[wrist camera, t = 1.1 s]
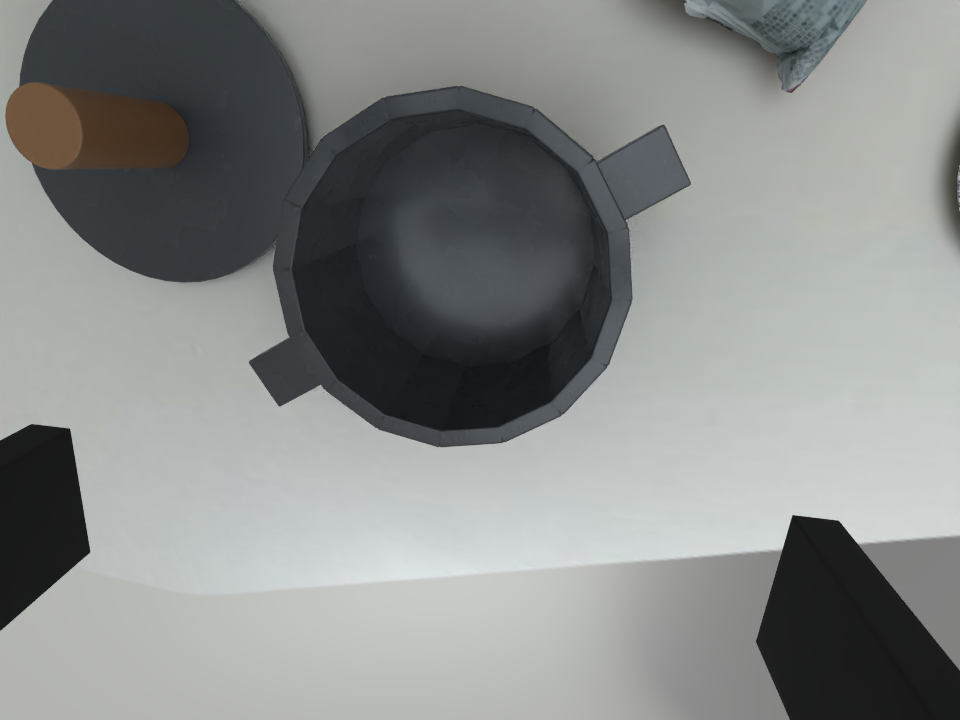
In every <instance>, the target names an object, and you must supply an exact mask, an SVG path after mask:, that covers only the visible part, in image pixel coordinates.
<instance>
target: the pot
mask: <svg viewBox="0 0 960 720" xmlns="http://www.w3.org/2000/svg"><path fill="white" fill-rule="evenodd" d="M690 185H691V182H690V180H689V178H688V175H687V173H686V171H685V169H684V167H683V164H682V162H681V160H680V158H679V156H678V154H677V151H676V149H675V147H674V145H673V143H672V140H671V138H670V136H669V134H668V132H667V129H666V127H665V126H664V125H661V126H658V127H656V128H654V129H653V130H651V131H649V132H647V133H646V134H644V135H642V136H640V137H639V138H637V139H635V140H633V141H632V142H630V143H628V144H626V145H625V146H623V147H621V148H619V149H618V150H616V151H614V152H612V153H611V154H609V155H607V156H605V157H604V158H602V159H600V160H598V161H596V160H595V159H594V158H593V156H592V155H591V154H589V153H588V152H587V151H586V150H585V149H584V148H582V147H581V146H580V145H579V144H578V143H576V142H575V141H574V140H573V139H572V138H571V137H569V136H568V135H567V134H566V133H565V132H563V131H562V130H561V129H560V128H559V127H558V126H556V125H555V124H554V123H553V122H552V121H550V120H549V119H548V118H547V117H546V116H545V115H543V114H542V113H541V112H540V111H539V110H537V109H534V107H532V106H529V105H525V104H522V103H518V102H515V101H511V100H508V99H504V98H501V97H498V96H494V95H491V94H487V93H484V92H480V91H477V90H473V89H470V88H466V87H463V86H460V87H459V86H453V87H447V88H440V89H434V90H427V91H420V92H414V93H407V94H401V95H394V96H387V97H385V98H381V99H380V100H378V101H377V102H375V103H374V104H372V105H371V106H369V107H368V108H366V109H365V110H363V111H362V112H360V113H359V114H357V115H356V116H354V117H353V118H351V119H350V120H348V121H347V122H345V123H344V124H342V125H341V126H339V127H338V128H336V129H335V130H333V131H332V132H330V133H328V134H327V135H325V136H324V137H323V139H321V140H320V142H319V143H318V145H317V147H316V148H315V150H314V151H313V153H312V155H311V156H310V158H309V159H308V161H307V163H306V164H305V166H304V167H303V169H302V171H301V172H300V174H299V175H298V177H297V178H296V180H295V182H294V183H293V185H292V186H291V188H290V190H289V191H288V193H287V194H286V196H285V199H284V200H283V206H282V212H281V219H280V225H279V232H278V238H277V244H276V251H275V257H274V263H273V271H274V275H275V280H276V284H277V289H278V293H279V297H280V302H281V306H282V310H283V315H284V319H285V324H286V328H287V332H288V334H289V338H287V339H286V340H284V341H282V342H280V343H279V344H277V345H275V346H273V347H272V348H270V349H268V350H266V351H265V352H263V353H261V354H259V355H258V356H256V357H255V358H253V359H252V360H250V361H249V364H250V365H251V367H252V368H253V369H254V371H255V372H256V374H257V375H258V377H259V378H260V380H261V381H262V383H263V384H264V385H265V387H266V388H267V390H268V391H269V393H270V394H271V396H272V397H273V399H274V400H275V402H276V403H277V404H278V406H282V405H284V404H286V403H288V402H289V401H291V400H293V399H295V398H297V397H299V396H301V395H302V394H304V393H306V392H308V391H310V390H312V389H313V388H315V387H317V386H319V385H322V387H323V388H324V389H325V390H326V391H327V392H328V393H330V394H331V395H332V396H334V397H335V398H336V399H338V400H339V401H340V402H342V403H343V404H345V405H346V406H347V407H349V408H350V409H351V410H353V411H354V412H355V413H357V414H358V415H359V416H361V417H362V418H363V419H365V420H366V421H367V422H369V423H370V424H372V425H373V426H374V427H376V428H378V429H379V430H382V431H386V432H389V433H393V434H396V435H399V436H403V437H406V438H409V439H413V440H416V441H419V442H423V443H426V444H430V445H433V446H436V447H439V446H440V447H450V446H465V445H480V444H495V443H503V442H506V441H509V440H511V439H513V438H515V437H517V436H519V435H521V434H524V433H526V432H528V431H530V430H532V429H534V428H536V427H539V426H541V425H543V424H545V423H547V422H549V421H551V420H554V419H556V418H558V417H560V416H561V415H562V414H564V413H565V412H566V411H567V410H568V409H569V408H570V407H571V406H572V405H573V404H574V402H575V401H576V400H577V399H578V398H579V397H580V396H581V395H582V394H583V393H584V392H585V391H586V390H587V388H588V387H589V386H590V385H591V384H592V383H593V382H594V381H595V380H596V379H597V378H598V377H599V376H600V375H601V373H602V372H603V371H604V370H605V369H606V368H607V366H608V365H609V363H610V360H611V357H612V355H613V352H614V349H615V347H616V344H617V341H618V338H619V336H620V333H621V330H622V328H623V325H624V322H625V319H626V317H627V314H628V311H629V309H630V306H631V303H632V281H631V261H630V240H629V228H628V225H627V223H626V221H625V220H627V219H628V218H630V217H632V216H634V215H636V214H638V213H640V212H641V211H643V210H645V209H647V208H649V207H651V206H653V205H654V204H656V203H658V202H660V201H662V200H664V199H665V198H667V197H669V196H671V195H673V194H675V193H677V192H678V191H680V190H682V189H684V188H686V187H688V186H690Z"/></svg>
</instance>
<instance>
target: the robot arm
mask: <svg viewBox="0 0 960 720" xmlns="http://www.w3.org/2000/svg"><path fill="white" fill-rule="evenodd" d="M89 553H90V547H89V541H88V535H87V529H86V523H85V517H84V511H83V505H82V499H81V492H80V486H79V480H78V474H77V468H76V462H75V456H74V450H73V444H72V438H71V431H70V429H68V428H59V427H51V426H43V425H34V424H31V425H29V426H27V427H25V428H23V429H21V430H19V431H18V432H16V433H14V434H12V435H10V436H8V437H6V438H4V439H2V440H0V630H2V629H3V628H4V627H5V626H6V625H8V624H9V623H10V622H11V621H12V620H13V619H14V618H16V617H17V616H18V615H19V614H20V613H21V612H22V611H23V610H25V609H26V608H27V607H28V606H29V605H30V604H32V603H33V602H34V601H35V600H36V599H37V598H38V597H39V596H41V594H43V593H44V592H45V591H46V590H48V589H49V588H50V587H51V586H52V585H53V584H54V583H56V582H57V581H58V580H59V579H60V578H61V577H62V576H64V575H65V574H66V573H67V572H68V571H69V570H70V569H72V568H73V567H74V566H75V565H76V564H77V563H78V562H80V561H81V560H82V559H83V558H84V557H85V556H86V555H88V554H89ZM756 643H757V645H758V647H759V650H760V652H761V654H762V656H763V659H764V661H765V663H766V666H767V668H768V670H769V673H770V674H771V677H772V680H773V682H774V684H775V686H776V689H777V691H778V693H779V696H780V698H781V700H782V702H783V705H784V707H785V709H786V712H787V714H788V716H789V719H790V720H960V671H959V669H958V668H957V667H956V665H955V664H954V663H953V662H952V660H951V659H950V658H949V657H948V656H947V655H946V653H945V652H944V651H943V649H942V648H941V647H940V646H939V644H938V643H937V642H936V641H935V639H934V638H933V637H932V636H931V635H930V633H929V632H928V631H927V630H926V628H925V627H924V626H923V625H922V623H921V622H920V621H919V620H918V618H917V617H916V616H915V615H914V613H913V612H912V611H911V610H910V609H909V607H908V606H907V605H906V603H905V602H904V601H903V600H902V599H901V597H900V596H899V595H898V594H897V593H896V591H895V590H894V589H893V587H892V586H891V585H890V584H889V582H888V581H887V580H886V579H885V577H884V576H883V575H882V574H881V573H880V571H879V570H878V569H877V568H876V566H875V565H874V564H873V563H872V561H871V560H870V559H869V558H868V556H867V555H866V554H865V553H864V552H863V550H862V549H861V548H860V546H859V545H858V544H857V543H856V542H855V540H854V539H853V538H852V537H851V535H850V534H849V533H848V532H847V530H846V529H845V528H844V527H843V525H842V524H841V523H840V522H839V521H837V520H828V519H820V518H811V517H803V516H795V515H793V516H792V519H791V523H790V526H789V529H788V533H787V536H786V540H785V543H784V547H783V550H782V554H781V557H780V561H779V564H778V568H777V571H776V574H775V578H774V581H773V585H772V588H771V592H770V595H769V599H768V602H767V606H766V609H765V613H764V616H763V619H762V623H761V626H760V630H759V633H758V637H757V640H756Z"/></svg>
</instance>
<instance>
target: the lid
mask: <svg viewBox="0 0 960 720" xmlns="http://www.w3.org/2000/svg"><path fill="white" fill-rule="evenodd" d="M5 116H6V125H7V130H8V133H9V135H10V138H11V140H12V142H13V144H14V145H15V147H16V148H17V149H18V151H19V152H20V153H21V154H22V155H23V156H24V157H25V158H26V159H27V160H29V161H30V162H32V165H33V167H34V170H35V173H36V175H37V177H38V179H39V181H40V183H41V185H42V187H43V188H44V190H45V192H46V194H47V196H48V197H49V199H50V200H51V202H52V203H53V205H54V206H55V208H56V209H57V211H58V212H59V213H60V214H61V216H62V217H63V218H64V219H65V221H66V222H67V223H68V224H69V226H70V227H71V228H72V229H73V230H74V231H75V232H76V233H77V234H78V235H79V236H80V237H81V238H82V239H83V240H84V241H86V242H87V243H88V244H89V245H91V246H92V247H93V248H94V249H95V250H97V251H98V252H99V253H101V254H102V255H104V256H105V257H107V258H109V259H110V260H112V261H113V262H115V263H117V264H119V265H121V266H123V267H125V268H127V269H129V270H131V271H133V272H136V273H139V274H142V275H145V276H147V277H151V278H155V279H160V280H164V281H173V282H201V281H206V280H211V279H216V278H219V277H222V276H225V275H228V274H231V273H234V272H236V271H238V270H240V269H242V268H244V267H246V266H248V265H250V264H251V263H253V262H254V261H255V260H257V259H258V258H260V257H261V256H262V255H264V254H265V253H266V252H267V251H268V250H269V249H270V248H271V247H272V246H273V245H274V244H275V243H276V242H277V238H278V232H279V225H280V219H281V212H282V206H283V200H284V199H285V196H286V194H287V193H288V191H289V190H290V188H291V186H292V185H293V183H294V182H295V180H296V178H297V177H298V175H299V174H300V172H301V171H302V169H303V167H304V166H305V164H306V163H307V161H308V135H307V128H306V121H305V114H304V110H303V106H302V102H301V99H300V95H299V92H298V89H297V86H296V84H295V81H294V79H293V76H292V73H291V71H290V69H289V67H288V66H287V64H286V62H285V60H284V58H283V56H282V54H281V52H280V51H279V49H278V48H277V46H276V45H275V43H274V42H273V40H272V39H271V37H270V36H269V34H268V33H267V32H266V31H265V30H264V28H263V27H262V26H261V25H260V24H259V23H258V21H257V20H256V19H255V18H254V17H253V16H252V15H251V14H250V13H249V12H248V11H247V10H246V9H245V8H243V7H242V6H241V5H240V4H239V3H238V2H237V1H236V0H53V1H52V2H51V3H50V5H49V6H48V7H47V9H46V10H45V12H44V13H43V14H42V16H41V17H40V18H39V20H38V22H37V24H36V26H35V28H34V30H33V32H32V34H31V36H30V39H29V42H28V45H27V48H26V51H25V54H24V58H23V63H22V68H21V73H20V86H19V88H18V89H16V90H15V91H14V92H13V94H12V95H11V96H10V98H9V100H8V103H7V107H6V115H5Z"/></svg>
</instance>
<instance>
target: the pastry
mask: <svg viewBox="0 0 960 720" xmlns="http://www.w3.org/2000/svg"><path fill="white" fill-rule="evenodd" d="M957 179H958V180H957V194H958V196H957V197H958V204H959V211H960V166H959V170H958V176H957Z"/></svg>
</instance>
